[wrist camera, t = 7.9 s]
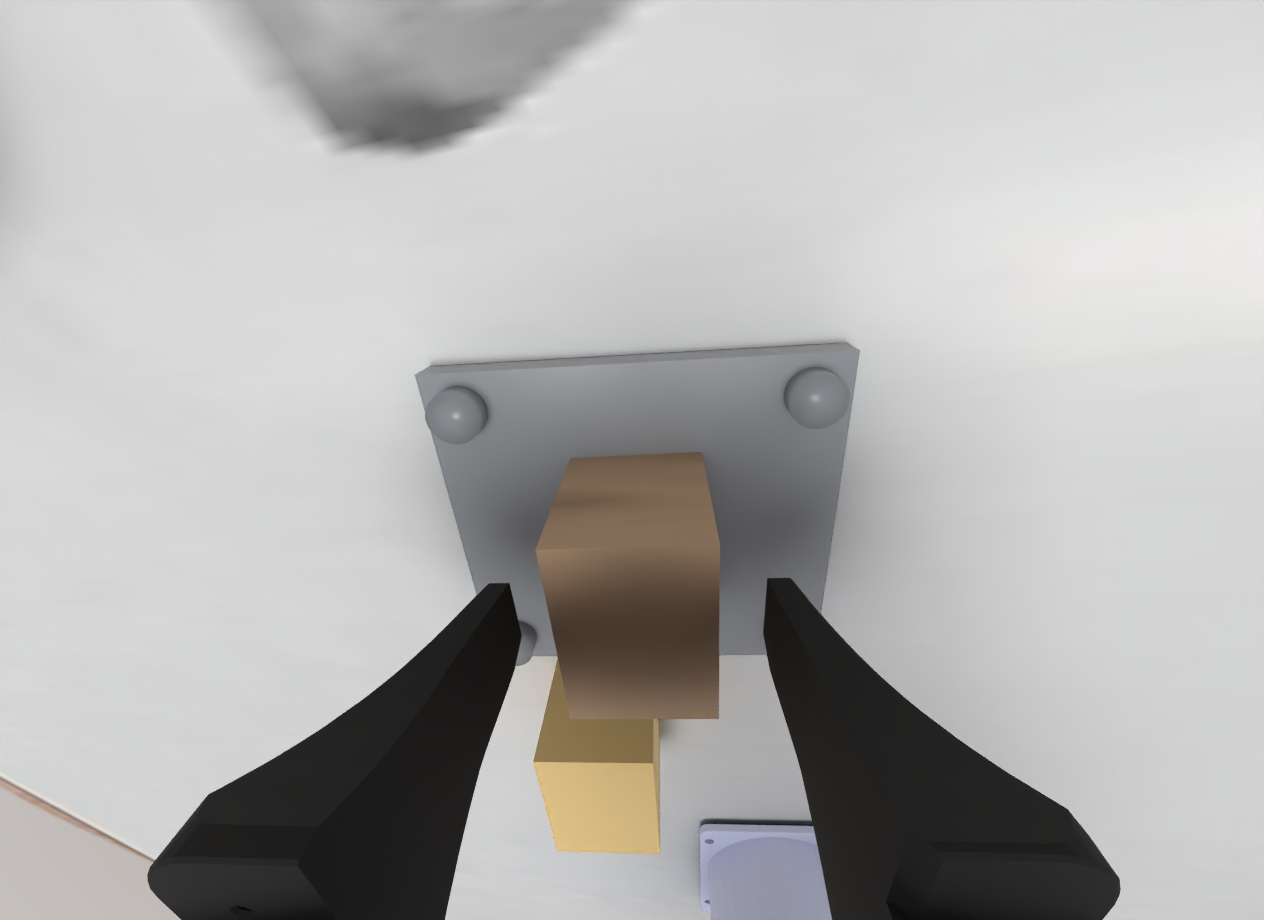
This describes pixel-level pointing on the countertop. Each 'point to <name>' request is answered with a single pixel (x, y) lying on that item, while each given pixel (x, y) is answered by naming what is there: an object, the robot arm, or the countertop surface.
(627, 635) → the walnut brick
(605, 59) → the countertop surface
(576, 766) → the ochre brick
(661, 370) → the baseplate
